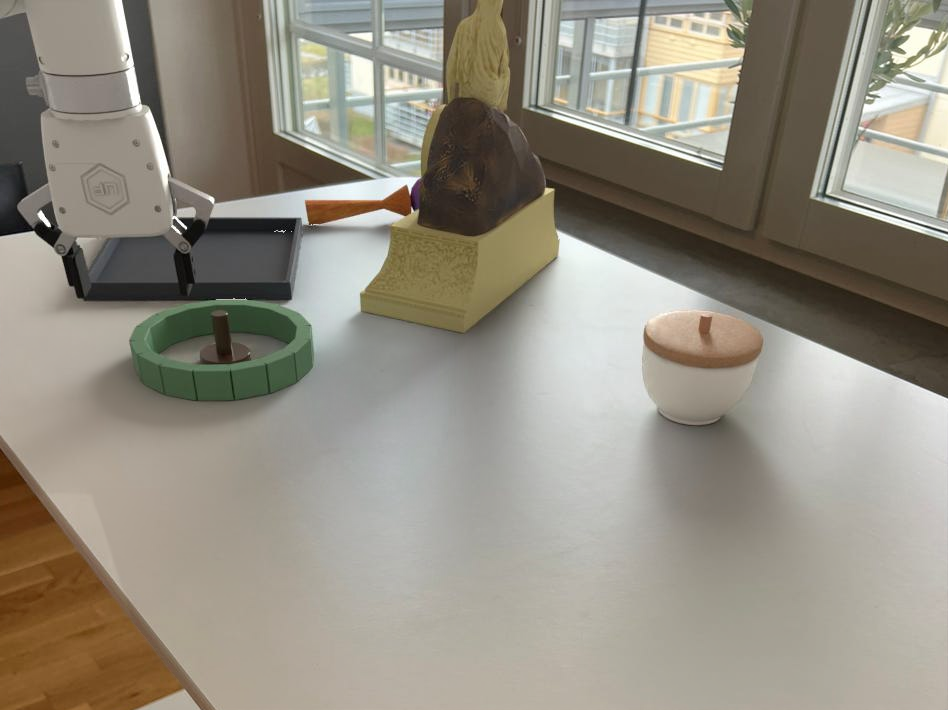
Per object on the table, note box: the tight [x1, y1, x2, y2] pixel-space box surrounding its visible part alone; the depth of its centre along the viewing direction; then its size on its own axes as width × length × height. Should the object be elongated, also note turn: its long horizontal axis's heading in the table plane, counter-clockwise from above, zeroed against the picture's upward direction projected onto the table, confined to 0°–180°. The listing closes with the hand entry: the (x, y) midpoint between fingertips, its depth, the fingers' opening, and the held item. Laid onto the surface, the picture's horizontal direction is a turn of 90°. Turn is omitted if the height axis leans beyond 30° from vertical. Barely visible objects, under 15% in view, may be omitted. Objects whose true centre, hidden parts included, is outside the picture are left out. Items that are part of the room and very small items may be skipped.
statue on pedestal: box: [359, 0, 560, 334], centre depth 110 cm, size 28×13×30 cm, turn 155°
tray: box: [82, 216, 303, 301], centre depth 121 cm, size 23×23×2 cm
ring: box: [128, 300, 315, 402], centre depth 99 cm, size 18×18×3 cm
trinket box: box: [641, 309, 764, 426], centre depth 92 cm, size 11×11×9 cm
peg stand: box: [199, 310, 252, 365], centre depth 99 cm, size 5×5×5 cm
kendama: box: [304, 176, 422, 226], centre depth 133 cm, size 6×6×20 cm
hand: (136, 292), depth 95 cm, fingers open, 9 cm apart
